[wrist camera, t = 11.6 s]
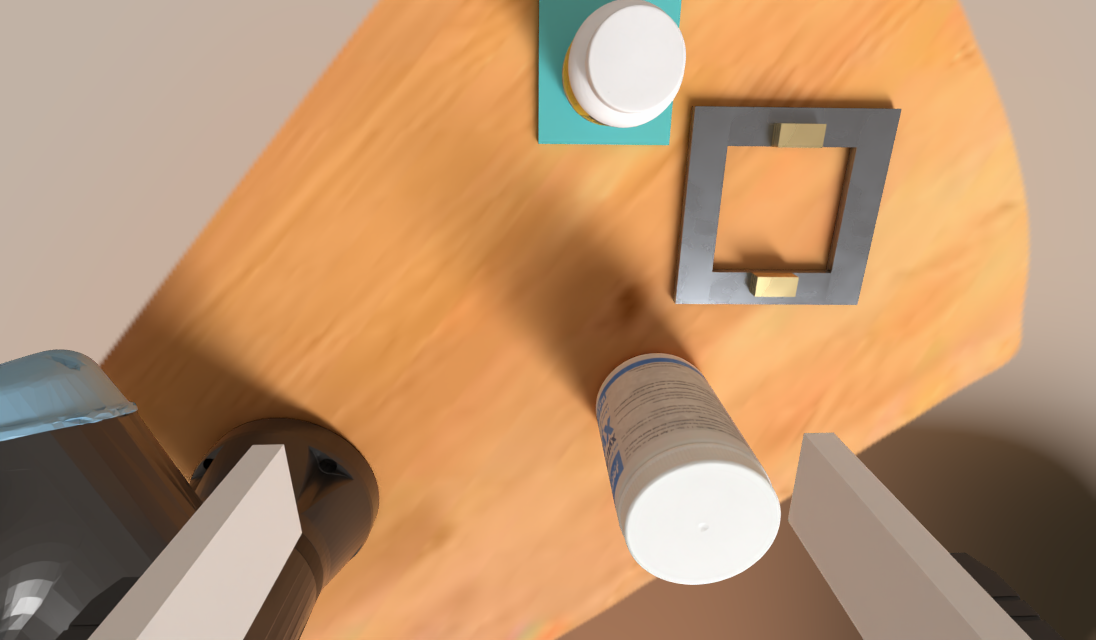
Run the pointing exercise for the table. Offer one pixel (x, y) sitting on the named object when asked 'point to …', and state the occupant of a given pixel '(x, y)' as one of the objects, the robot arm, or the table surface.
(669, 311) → the table surface
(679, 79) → the pill bottle
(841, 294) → the socket plate
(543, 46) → the coaster
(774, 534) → the supplement tub
